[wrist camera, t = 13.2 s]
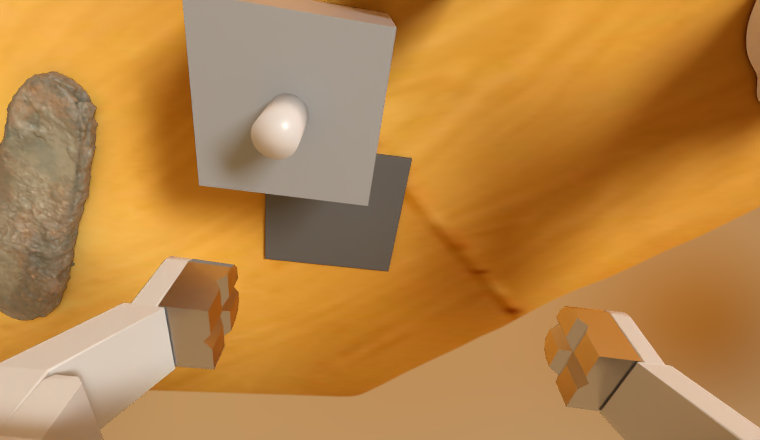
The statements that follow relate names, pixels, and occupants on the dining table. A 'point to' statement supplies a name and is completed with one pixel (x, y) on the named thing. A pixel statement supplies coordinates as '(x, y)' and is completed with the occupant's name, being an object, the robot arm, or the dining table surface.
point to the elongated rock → (42, 191)
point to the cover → (288, 95)
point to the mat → (340, 223)
